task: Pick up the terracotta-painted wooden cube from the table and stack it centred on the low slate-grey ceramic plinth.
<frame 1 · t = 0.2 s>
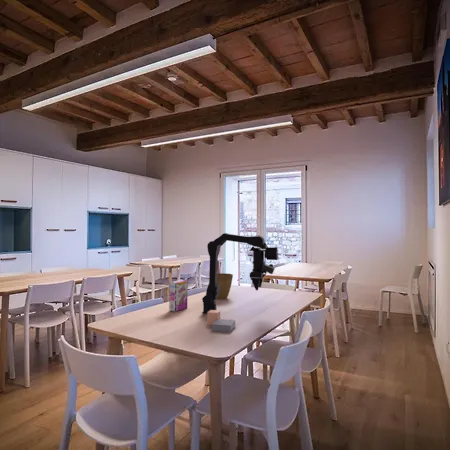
hand: (258, 288, 176), 14 cm above the table, fingers open, 9 cm apart
plinth: (223, 328, 154), on the table
cube: (213, 323, 163), on the table
plant pot: (221, 298, 222), on the table
candy bar box: (178, 310, 190), on the table
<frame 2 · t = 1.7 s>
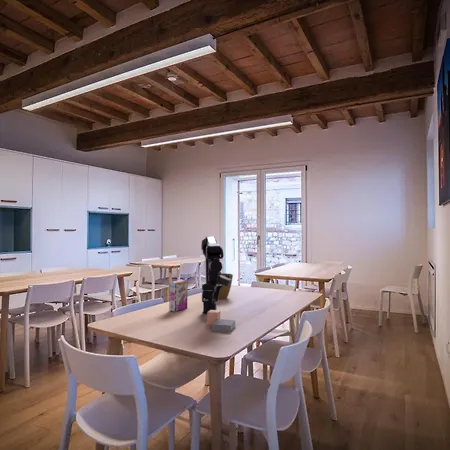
hand: (213, 301, 163), 10 cm above the table, fingers open, 9 cm apart
nothing on the table moved.
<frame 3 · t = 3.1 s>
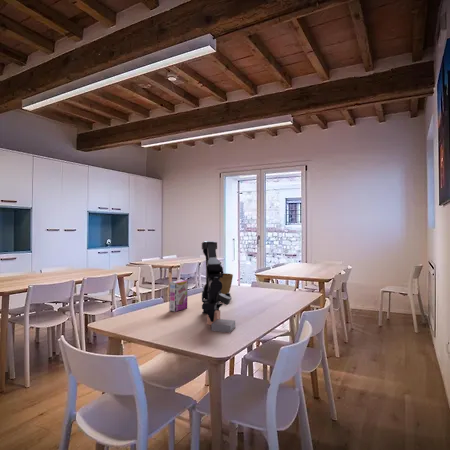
hand: (213, 320, 163), 2 cm above the table, fingers closed on cube, 5 cm apart
cube: (213, 323, 163), on the table, touching gripper
everything else where it was.
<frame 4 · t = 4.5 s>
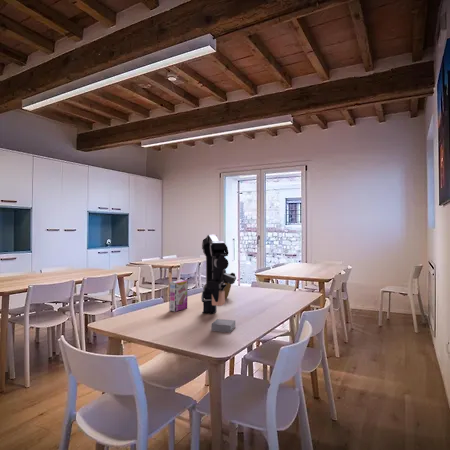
hand: (218, 300, 158), 12 cm above the table, fingers closed on cube, 5 cm apart
cube: (218, 304, 158), point 10 cm above the table, touching gripper
everything else where it was.
when the fingers open (5 cm above the table, at t = 6.3 s): cube stays where it is, resting on plinth.
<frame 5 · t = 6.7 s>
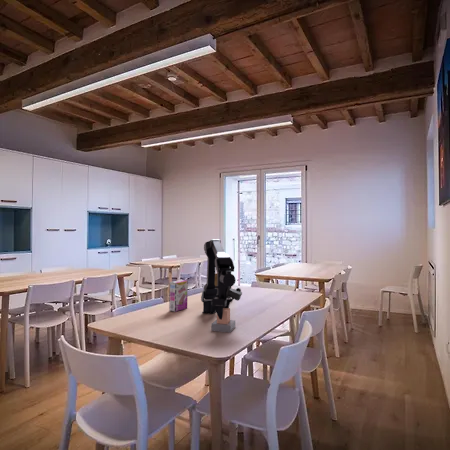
hand: (223, 316, 154), 5 cm above the table, fingers open, 9 cm apart
cube: (223, 322, 154), point 3 cm above the table, touching plinth
everything else where it was.
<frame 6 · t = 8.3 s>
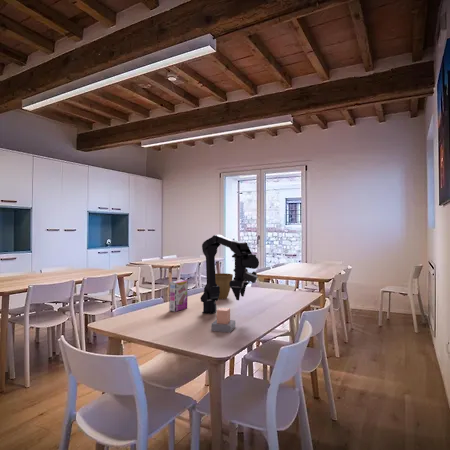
hand: (240, 298, 165), 12 cm above the table, fingers open, 9 cm apart
nothing on the table moved.
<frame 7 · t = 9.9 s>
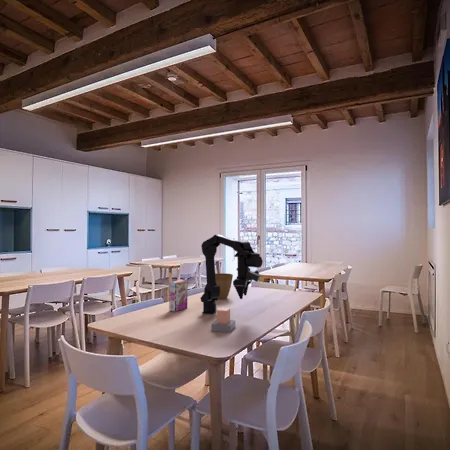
hand: (243, 297, 167), 12 cm above the table, fingers open, 9 cm apart
nothing on the table moved.
at the end: cube 0.0 cm off-centre on the plinth, point 3.0 cm above the plinth's base; cube tilted 0°; the gripper is holding nothing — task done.
